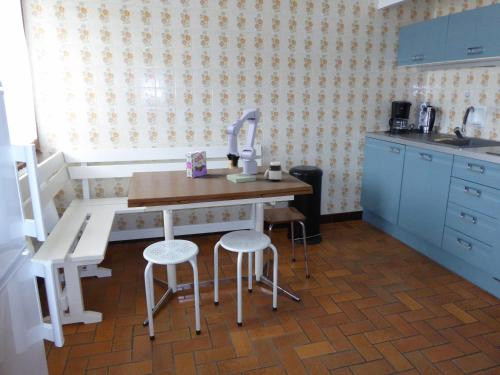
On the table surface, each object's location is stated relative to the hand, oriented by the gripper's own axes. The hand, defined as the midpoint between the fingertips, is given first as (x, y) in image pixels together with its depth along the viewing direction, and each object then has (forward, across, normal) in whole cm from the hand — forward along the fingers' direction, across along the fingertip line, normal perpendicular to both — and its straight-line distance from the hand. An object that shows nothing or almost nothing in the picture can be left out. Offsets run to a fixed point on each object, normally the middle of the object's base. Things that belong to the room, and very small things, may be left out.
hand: (233, 165), depth 249 cm
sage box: (+9, +5, +3) cm, 11 cm away
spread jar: (+9, +16, +20) cm, 27 cm away
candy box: (+9, -19, -18) cm, 28 cm away
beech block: (+2, 0, 0) cm, 2 cm away
